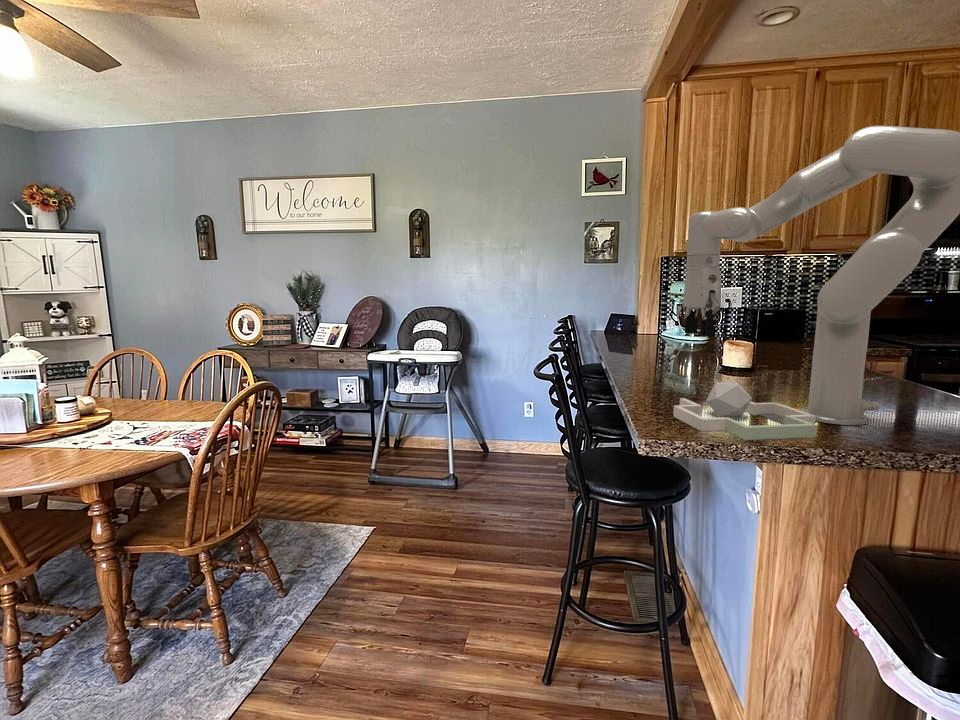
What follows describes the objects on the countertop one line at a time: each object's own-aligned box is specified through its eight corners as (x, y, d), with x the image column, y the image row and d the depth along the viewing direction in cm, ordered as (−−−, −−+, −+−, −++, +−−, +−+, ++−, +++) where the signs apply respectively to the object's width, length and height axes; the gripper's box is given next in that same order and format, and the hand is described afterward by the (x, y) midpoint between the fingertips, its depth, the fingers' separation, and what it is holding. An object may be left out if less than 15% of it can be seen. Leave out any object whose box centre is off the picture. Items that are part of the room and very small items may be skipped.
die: (746, 425, 109) (764, 388, 111) (711, 405, 110) (729, 369, 111) (727, 428, 117) (744, 394, 119) (694, 409, 118) (712, 375, 119)
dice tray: (756, 405, 124) (757, 396, 123) (840, 436, 98) (841, 424, 98) (659, 408, 121) (659, 398, 121) (719, 441, 96) (720, 428, 96)
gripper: (738, 261, 116) (732, 337, 118) (698, 264, 133) (694, 331, 135) (707, 261, 115) (703, 338, 117) (671, 264, 132) (668, 331, 134)
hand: (698, 333), depth 126 cm, fingers open, 6 cm apart
